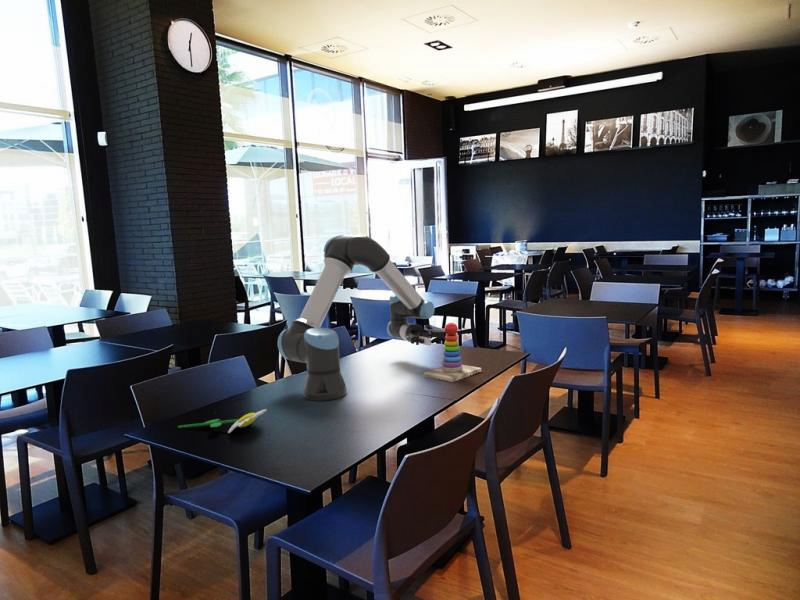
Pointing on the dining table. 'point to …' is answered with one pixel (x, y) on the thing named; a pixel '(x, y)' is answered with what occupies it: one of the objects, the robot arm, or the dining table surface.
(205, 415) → the dining table surface
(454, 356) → the stacking toy
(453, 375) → the folded striped towel
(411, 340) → the robot arm
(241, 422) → the decorative flower
